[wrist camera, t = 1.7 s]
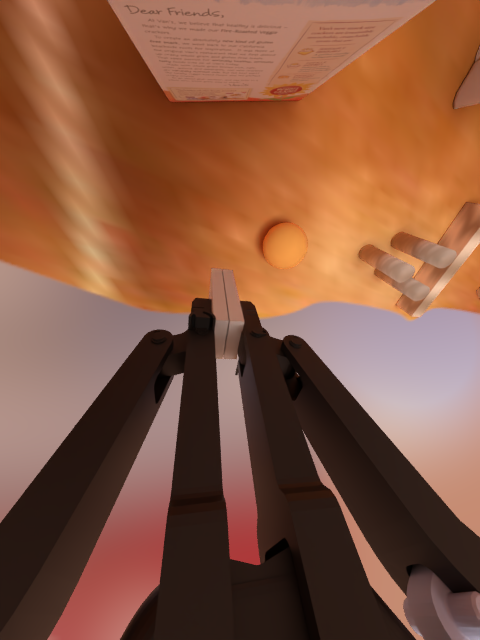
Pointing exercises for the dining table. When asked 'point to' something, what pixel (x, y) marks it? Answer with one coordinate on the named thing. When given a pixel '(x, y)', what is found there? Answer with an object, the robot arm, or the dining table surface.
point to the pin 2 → (406, 286)
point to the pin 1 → (424, 250)
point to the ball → (285, 245)
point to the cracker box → (255, 43)
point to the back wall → (463, 238)
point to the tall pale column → (469, 87)
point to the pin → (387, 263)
